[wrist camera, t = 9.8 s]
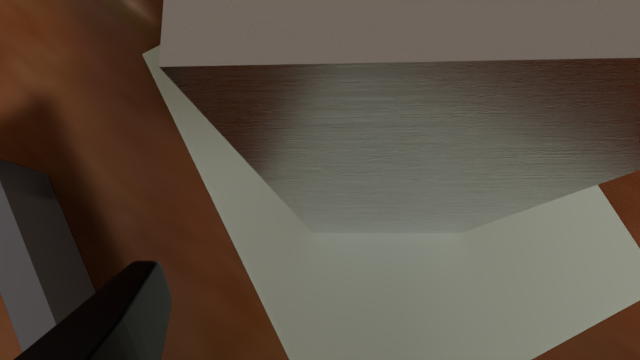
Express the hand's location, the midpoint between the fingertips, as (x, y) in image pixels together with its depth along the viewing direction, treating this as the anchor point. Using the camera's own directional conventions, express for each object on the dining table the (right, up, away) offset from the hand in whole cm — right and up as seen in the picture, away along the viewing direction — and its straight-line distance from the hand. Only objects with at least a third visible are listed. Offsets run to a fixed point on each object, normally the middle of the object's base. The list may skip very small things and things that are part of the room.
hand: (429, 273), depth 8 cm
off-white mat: (0, +2, +10) cm, 10 cm away
